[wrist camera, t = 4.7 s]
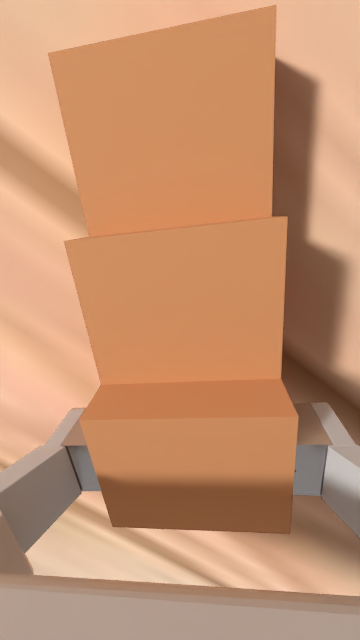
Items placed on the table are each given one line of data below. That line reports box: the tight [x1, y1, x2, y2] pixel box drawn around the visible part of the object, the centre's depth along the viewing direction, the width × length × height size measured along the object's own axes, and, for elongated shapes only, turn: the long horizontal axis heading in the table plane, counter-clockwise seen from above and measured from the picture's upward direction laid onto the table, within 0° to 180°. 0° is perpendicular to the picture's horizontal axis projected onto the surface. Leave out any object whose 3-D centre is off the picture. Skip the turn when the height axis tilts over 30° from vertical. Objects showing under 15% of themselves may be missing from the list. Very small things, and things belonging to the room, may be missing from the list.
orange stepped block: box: [48, 5, 299, 534], centre depth 7 cm, size 12×5×4 cm, turn 6°
